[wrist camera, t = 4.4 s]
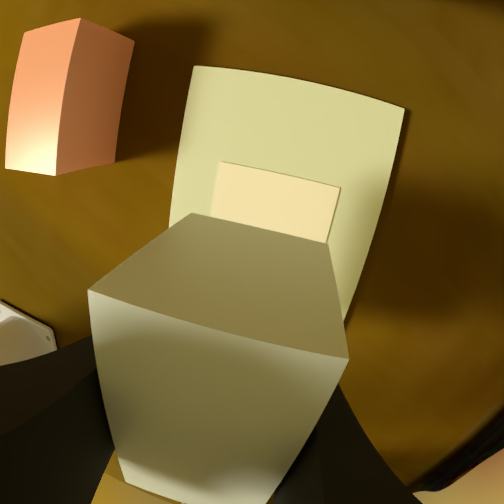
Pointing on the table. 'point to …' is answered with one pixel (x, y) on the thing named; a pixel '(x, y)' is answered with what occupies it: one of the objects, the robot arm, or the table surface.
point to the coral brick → (67, 98)
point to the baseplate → (287, 161)
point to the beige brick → (216, 357)
